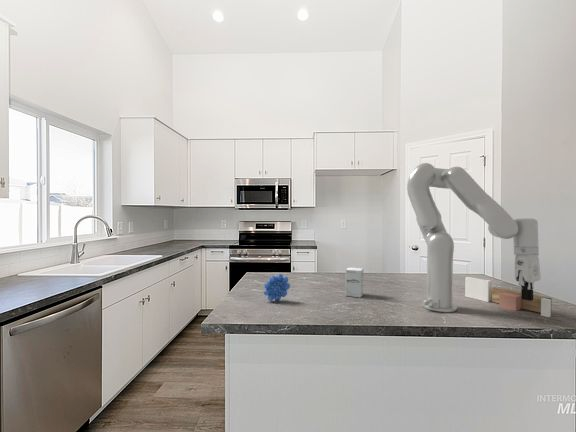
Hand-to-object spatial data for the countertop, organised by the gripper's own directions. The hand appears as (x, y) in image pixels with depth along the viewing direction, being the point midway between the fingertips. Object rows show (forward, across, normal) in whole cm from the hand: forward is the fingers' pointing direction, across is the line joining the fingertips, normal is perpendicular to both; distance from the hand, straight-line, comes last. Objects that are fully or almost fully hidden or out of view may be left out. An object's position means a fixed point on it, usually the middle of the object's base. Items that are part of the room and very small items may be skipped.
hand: (527, 299), depth 119 cm
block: (+6, +6, +9) cm, 13 cm away
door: (+6, +9, +6) cm, 13 cm away
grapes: (+3, -71, +68) cm, 98 cm away
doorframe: (+6, +8, +12) cm, 16 cm away
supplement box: (+4, -35, +57) cm, 67 cm away
